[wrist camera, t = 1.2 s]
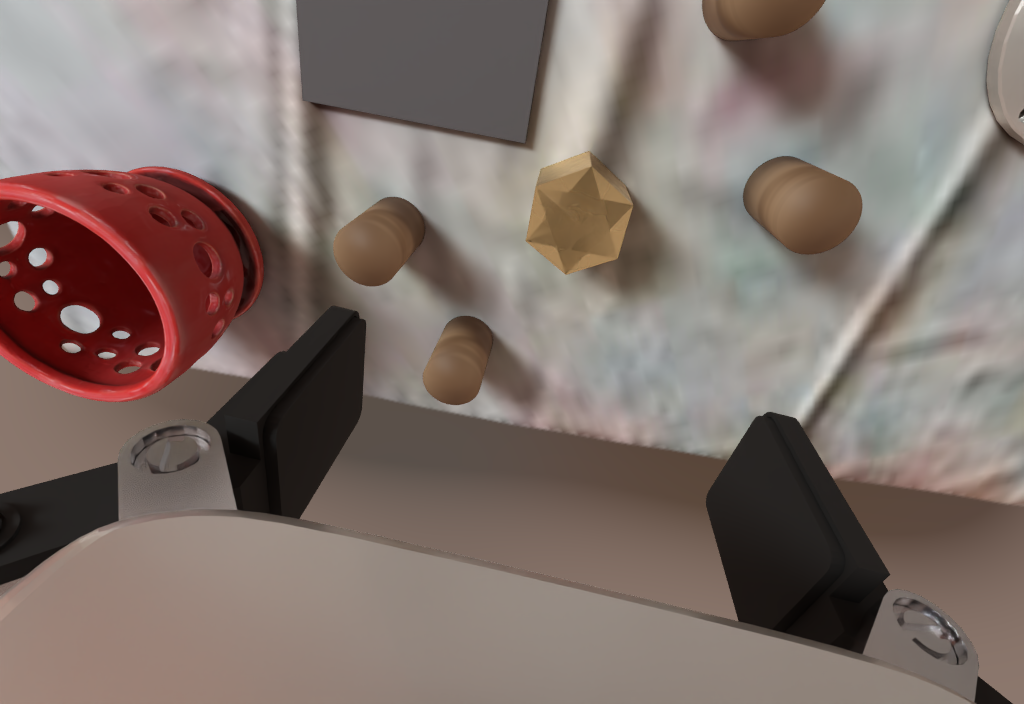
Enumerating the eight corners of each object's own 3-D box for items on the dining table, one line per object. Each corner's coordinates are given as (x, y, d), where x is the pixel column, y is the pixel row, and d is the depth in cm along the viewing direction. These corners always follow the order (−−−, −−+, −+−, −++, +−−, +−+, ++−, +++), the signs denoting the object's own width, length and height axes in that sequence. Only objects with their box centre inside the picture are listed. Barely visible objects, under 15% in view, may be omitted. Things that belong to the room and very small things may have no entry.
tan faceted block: (545, 142, 30) (541, 156, 26) (632, 159, 30) (642, 175, 26) (527, 239, 33) (521, 266, 29) (605, 254, 33) (610, 283, 29)
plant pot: (294, 328, 40) (197, 422, 29) (140, 302, 40) (-9, 386, 30) (273, 162, 33) (137, 209, 22) (87, 131, 33) (-131, 164, 23)
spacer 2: (496, 321, 37) (483, 363, 32) (489, 364, 39) (476, 409, 34) (445, 311, 37) (424, 351, 32) (441, 354, 39) (421, 398, 34)
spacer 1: (426, 202, 33) (399, 229, 28) (423, 257, 35) (397, 291, 30) (369, 191, 33) (332, 216, 28) (369, 247, 35) (334, 279, 30)
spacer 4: (825, 163, 29) (878, 185, 24) (793, 227, 31) (836, 260, 26) (759, 150, 29) (799, 170, 24) (732, 215, 31) (763, 246, 26)
